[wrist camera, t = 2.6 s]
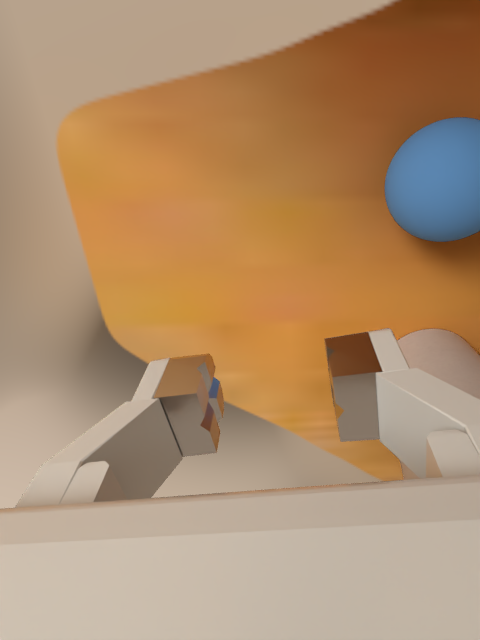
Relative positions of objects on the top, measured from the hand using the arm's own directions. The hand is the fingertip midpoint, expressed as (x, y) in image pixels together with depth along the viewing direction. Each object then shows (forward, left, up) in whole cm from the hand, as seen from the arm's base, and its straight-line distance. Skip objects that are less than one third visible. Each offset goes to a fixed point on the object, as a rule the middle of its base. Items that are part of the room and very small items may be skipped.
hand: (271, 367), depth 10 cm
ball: (0, +9, -14) cm, 17 cm away
